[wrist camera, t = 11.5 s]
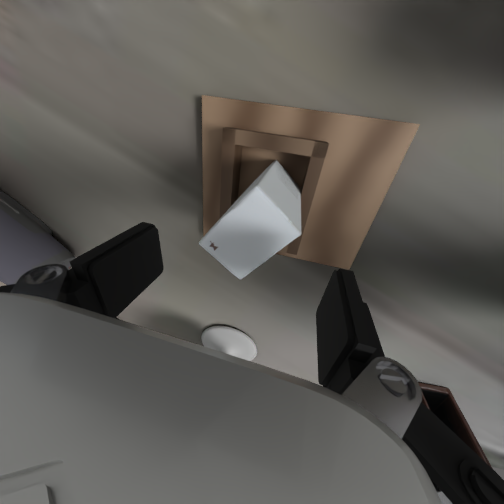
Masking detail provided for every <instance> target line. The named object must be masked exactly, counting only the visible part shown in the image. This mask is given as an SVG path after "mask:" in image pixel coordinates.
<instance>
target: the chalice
mask: <svg viewBox="0 0 504 504" xmlns="http://www.w3.org/2000/svg"><path fill="white" fill-rule="evenodd" d="M201 340H202V343H203V345H204V347H207V348H210V349H213V350H217V351H220V352H223V353H226V354H229V355H232V356H235V357H238V358H241V359H245V360H248V361H252V360H253V359H254V358H255V357H256V355H257V347H256V345H255V343H254V341H253V340H252V339H251V338H250V337H249V336H247V335H246V334H245V333H243V332H241V331H239V330H237V329H234V328H231V327H227V326H212V327H209V328H207V329H206V330H204V332H203V333H202V336H201Z"/></svg>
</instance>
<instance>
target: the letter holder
mask: <svg viewBox="0 0 504 504" xmlns="http://www.w3.org/2000/svg"><path fill="white" fill-rule="evenodd" d="M418 383H419V385H420V387H421V390H422V395H423V396H422V401H421V402H422V403H423V404H424V405H425V406H426V407H427V408H428V409H429V410H431V411H432V412H433V413H434V414H435V415H436V416H437V417H438V418H439V419H440V420H441V421H442V422H443V423H444V424H445V425H446V426H448V427H449V428H450V429H451V430H452V431H453V432H454V433H455V434H456V435H457V436H458V437H459V438H460V439H461V440H462V441H463V442H465V443H466V444H467V445H468V446H469V447H470V448H471V449H472V450H473V451H474V452H475V453H476V454H477V455H478V456H479V457H480V458H481V459H483V460H484V461H485V462H486V463H487V464H488V465H489V466H490V467H491V465H490V463H489V461H488V459H487V458H486V456H485V454H484V452H483V450H482V448H481V446H480V445H479V443H478V441H477V439H476V437H475V436H474V434H473V432H472V430H471V428H470V426H469V424H468V423H467V421H466V419H465V417H464V415H463V414H462V412H461V410H460V408H459V406H458V405H457V403H456V401H455V399H454V397H453V395H452V393H451V391H450V390H449V389H448V388H445V387H441V386H436V385H431V384H426V383H421V382H418ZM491 468H492V467H491Z"/></svg>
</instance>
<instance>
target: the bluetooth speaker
mask: <svg viewBox="0 0 504 504" xmlns="http://www.w3.org/2000/svg"><path fill="white" fill-rule="evenodd" d="M51 234H52V231H51V230H50V229H49V228H48V227H47V226H46V225H45V224H44V223H43V222H42V221H41V220H39V219H38V218H37V217H36V216H34V215H33V214H32V213H31V212H29V211H28V210H27V209H25V208H24V207H23V206H21V205H20V204H19V203H18V202H16V201H15V200H14V199H12V198H11V197H9V196H8V195H7V194H5V193H4V192H2V191H0V281H1V282H3V283H4V284H6V285H11V284H16V283H17V281H18V280H19V278H20V277H21V276H22V275H23V274H24V273H26V272H27V271H29V270H32V269H34V268H36V267H40V266H43V265H48V264H62V265H64V266H66V267H67V269H68V270H69V269H70V268H71V264H70V261H71V260H73V259H75V257H74V256H73V255H72V253H70V252H69V251H68V250H67V249H66V248H65V247H64V246H63V245H61V244H60V243H59V242H58V241H57V240H55V238H53V237H52V236H51Z"/></svg>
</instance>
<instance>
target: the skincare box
mask: <svg viewBox="0 0 504 504" xmlns="http://www.w3.org/2000/svg"><path fill="white" fill-rule="evenodd" d="M300 235H301V188H300V187H299V185H298V184H297V183H296V182H295V181H294V180H293V178H292V177H291V176H290V175H289V174H288V172H287V171H286V170H285V169H284V168H283V167H282V165H281V164H280V163H279V162H278V161H277V160H275V161H274V162H273V163H271V164H270V165H269V166H268V167H267V168H266V169H265V170H264V171H263V172H262V173H261V175H260V176H259V177H258V178H257V179H256V180H255V181H254V182H253V183H252V184H251V185H250V186H249V187H248V188H247V189H246V190H245V192H244V193H243V194H242V195H241V196H240V197H239V198H238V199H237V200H236V201H235V202H234V204H233V205H232V206H231V207H230V208H229V209H228V210H227V212H226V213H225V214H224V215H223V216H222V217H221V218H220V219H219V220H218V221H217V222H216V224H215V225H214V226H213V227H212V228H211V229H210V230H209V231H208V232H207V233H206V235H205V236H204V237H203V238H202V239H201V240H200V242H199V245H200V246H201V247H203V248H204V249H205V250H206V251H207V252H208V253H209V254H211V255H212V256H213V257H214V258H215V259H216V260H218V261H219V262H220V263H221V264H222V265H223V266H224V267H225V268H226V269H228V270H229V271H230V272H231V273H232V274H233V275H235V276H236V277H237V278H238V279H242V278H244V277H245V276H246V275H248V274H249V273H250V272H252V271H253V270H254V269H256V268H257V267H259V266H260V265H261V264H263V263H264V262H265V261H267V260H268V259H269V258H270V257H272V256H273V255H274V254H276V253H277V252H278V251H280V250H281V249H282V248H284V247H285V246H286V245H288V244H289V243H290V242H292V241H293V240H294V239H296V238H297V237H299V236H300Z"/></svg>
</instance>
